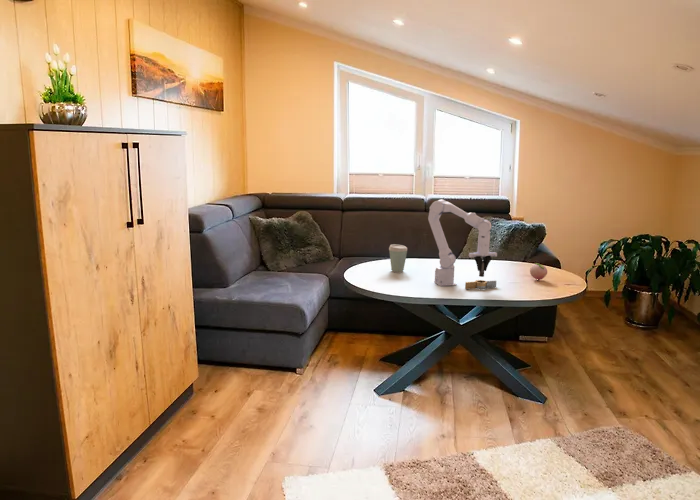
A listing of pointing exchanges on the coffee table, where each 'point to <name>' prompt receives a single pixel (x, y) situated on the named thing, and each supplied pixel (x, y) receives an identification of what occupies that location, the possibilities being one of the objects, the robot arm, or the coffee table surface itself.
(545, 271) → the decorative fruit
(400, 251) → the disposable coffee cup
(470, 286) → the hinge
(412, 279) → the coffee table surface
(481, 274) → the hinge pin
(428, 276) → the coffee table surface
